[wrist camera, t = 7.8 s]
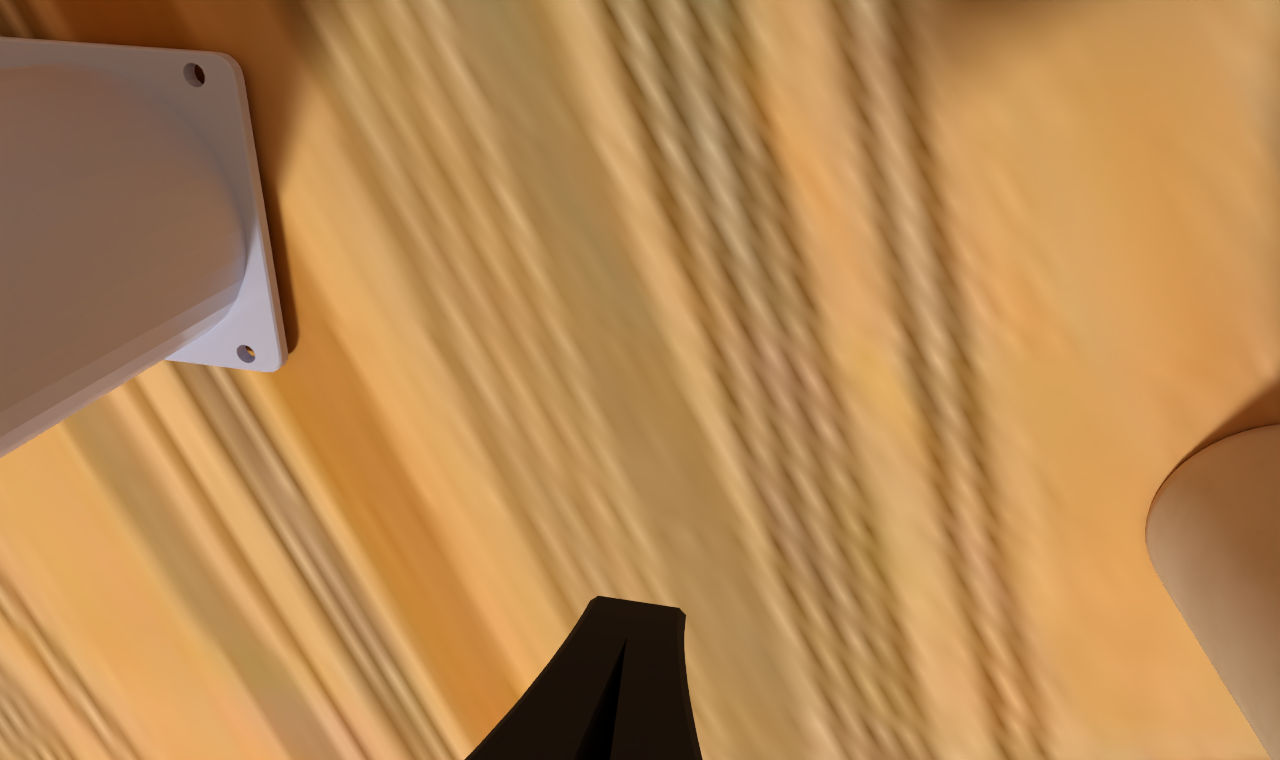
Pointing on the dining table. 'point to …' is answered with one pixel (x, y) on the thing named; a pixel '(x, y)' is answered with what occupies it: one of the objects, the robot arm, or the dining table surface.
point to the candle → (1228, 565)
